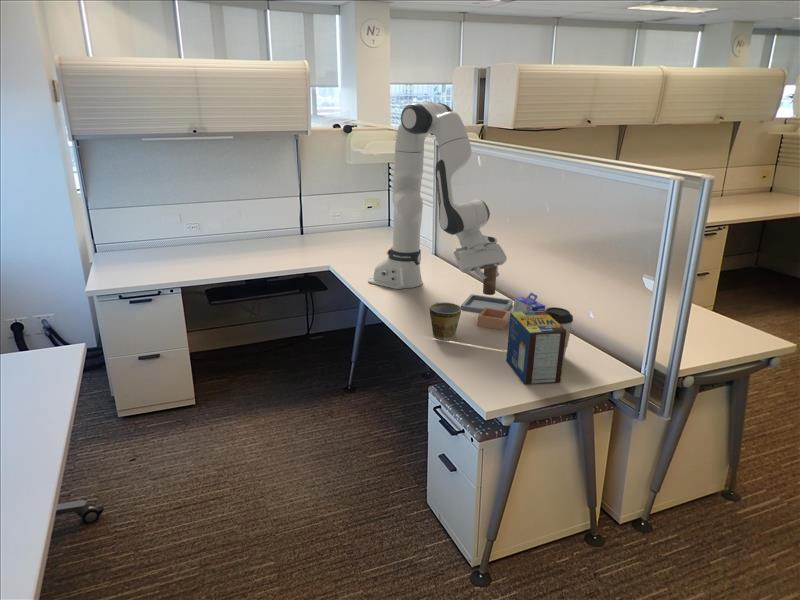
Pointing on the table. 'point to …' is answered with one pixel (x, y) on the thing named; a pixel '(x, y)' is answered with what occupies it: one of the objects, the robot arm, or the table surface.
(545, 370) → the protein box
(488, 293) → the canister
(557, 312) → the coffee cup
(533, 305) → the ink cartridge box
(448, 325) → the ceramic cup
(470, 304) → the tray
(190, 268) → the table surface
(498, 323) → the holder cup
